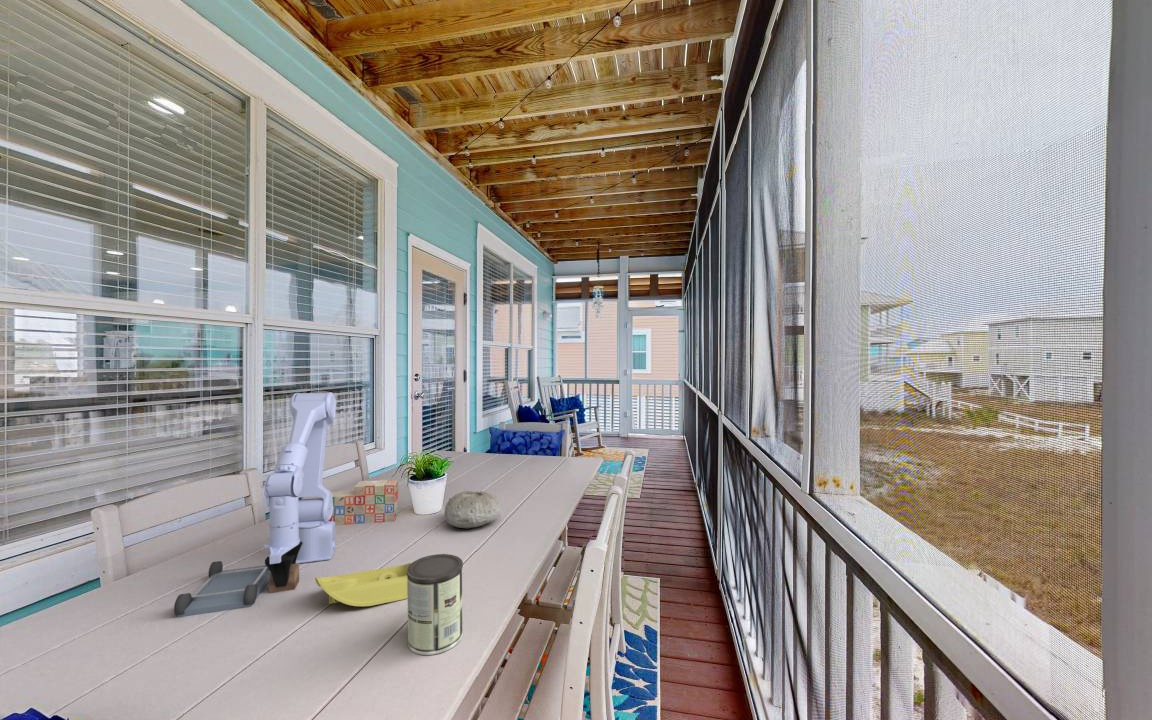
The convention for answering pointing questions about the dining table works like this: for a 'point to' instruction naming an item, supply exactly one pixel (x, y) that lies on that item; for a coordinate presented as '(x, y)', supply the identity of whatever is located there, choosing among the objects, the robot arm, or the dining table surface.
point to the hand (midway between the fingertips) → (284, 581)
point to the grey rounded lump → (472, 509)
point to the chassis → (224, 590)
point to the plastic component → (367, 586)
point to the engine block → (292, 580)
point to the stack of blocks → (366, 503)
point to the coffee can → (434, 604)
